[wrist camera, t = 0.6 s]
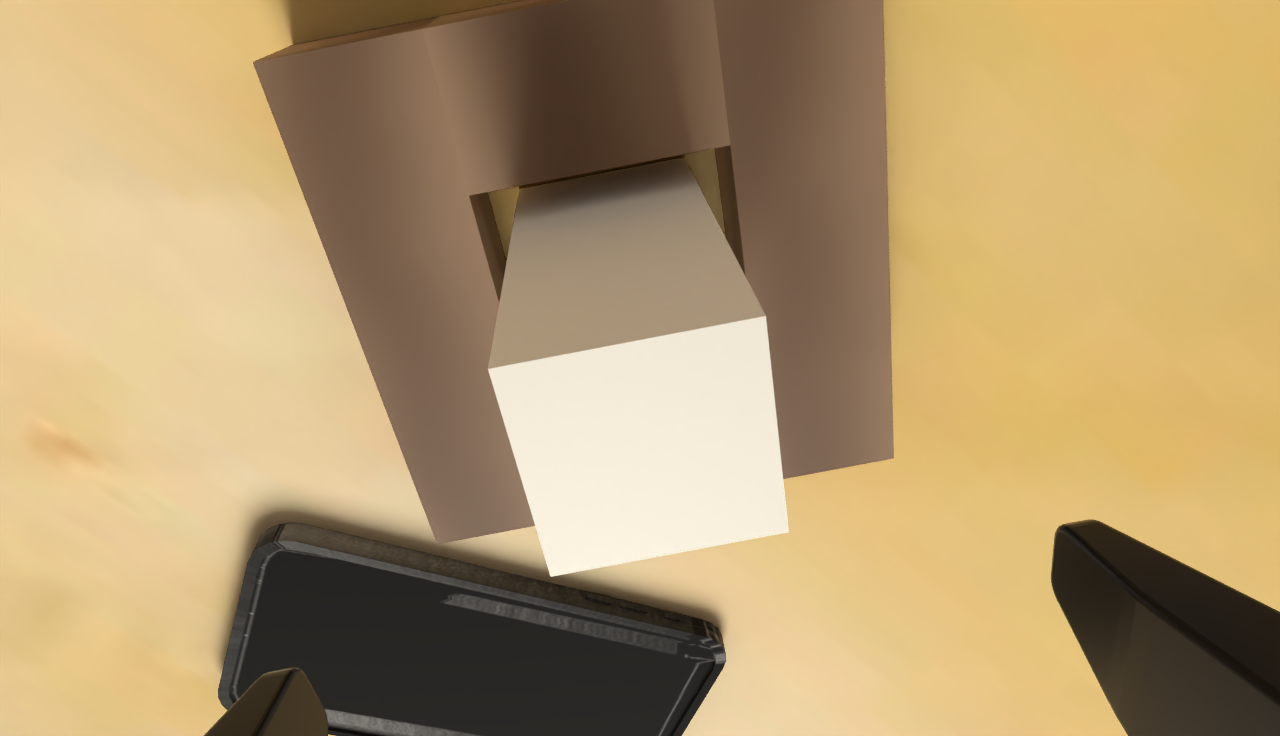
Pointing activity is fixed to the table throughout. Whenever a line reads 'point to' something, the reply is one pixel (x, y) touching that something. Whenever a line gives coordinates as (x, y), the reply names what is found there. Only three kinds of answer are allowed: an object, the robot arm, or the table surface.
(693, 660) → the phone
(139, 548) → the table surface
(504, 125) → the walnut square frame
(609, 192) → the cream block
